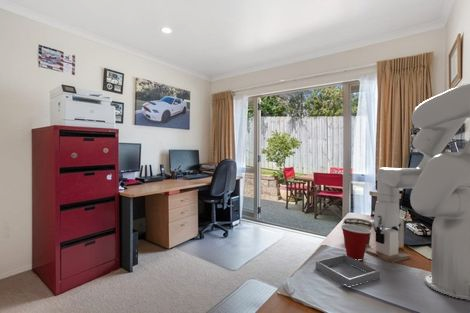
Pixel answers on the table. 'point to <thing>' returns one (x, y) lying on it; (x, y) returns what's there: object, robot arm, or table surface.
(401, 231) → the supplement box
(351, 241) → the plastic cup
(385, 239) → the carton
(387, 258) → the beige square coaster
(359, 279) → the bin
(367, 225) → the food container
